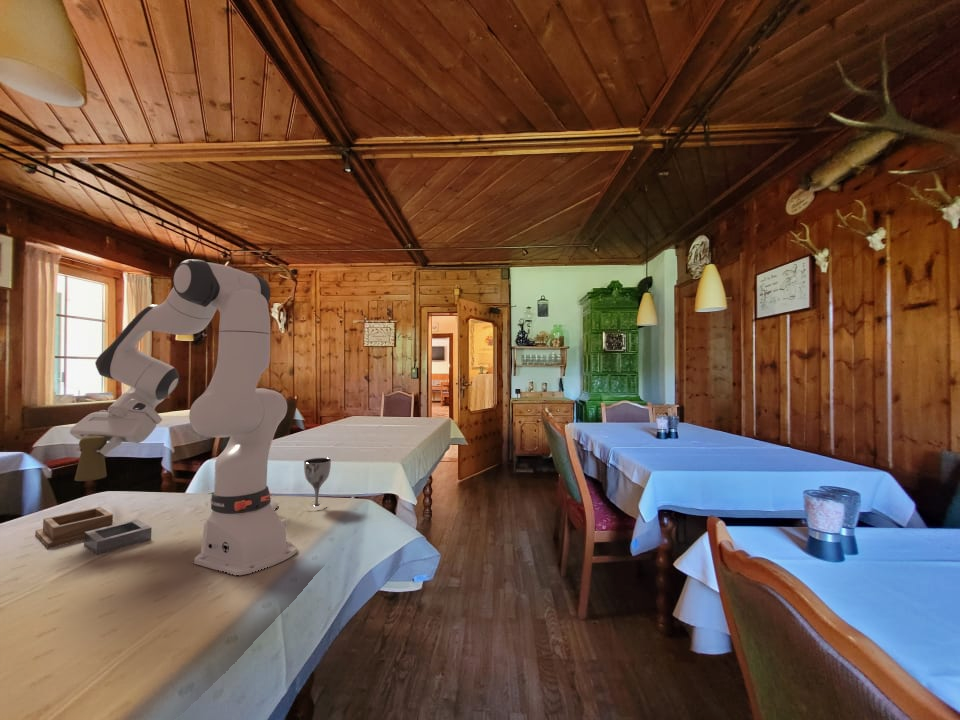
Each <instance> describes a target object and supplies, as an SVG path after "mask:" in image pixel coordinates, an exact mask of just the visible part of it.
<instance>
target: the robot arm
mask: <svg viewBox="0 0 960 720" xmlns="http://www.w3.org/2000/svg"><path fill="white" fill-rule="evenodd" d="M172 277H173V278H172V285H173V287H172V289H170V292H169V293H168V295H167V297H166V299H165V300H164V301H163V302H161V303H160V304H150V305H148V306H146V307H145V308H143V309H142V310H141V311H139V312H138V313H137V314H136V315H135V316H134V318H133V319H131V321H130V322H129V323H128V325H126V327H125V328H124V329H123V330H122V331H121V332H120V334H119V335H118V336H117V337H116V338H115V339H114V340H113V342H112V343H111V344H110V345H109V346H108V347H107V348H106V349H105V350H103V351H102V352H101V353H100V354H99V356H98V357H97V359H96V360H95V368H96V369H97V372H98V374H99V375H100V376H102V377H105V378H107V379H110V380H112V381H117V382H119V383H122V384H124V385H126V386H128V387H130V388H129V389H128V390H127V391H126V392H124V393H122V394H121V395H120V396H119V397H118V398H117V399H116V400H115V401H114V402H113V403H112V404H111V405H109V407H108V408H107V410H105V409H102V410H101V409H100V410H99V411H94V412H92V413H89V414H87V415H86V416H85V417H82V419H80V420H79V421H78V422H77V423H76V424H75V425H73V426H72V427H71V428H70V431H69V434H70V435H71V436H73V437H74V438H75V439H76V440H79V441H80V440H81V439H82V438H84V437H88V436H104V437H105V438H106V439H107V444H106V445H104V446H101V447H99V449H97V451H96V452H97V453H99V454H101V455H104V456H106V455H108V453H109V452H110V451H112V450H113V449H115V448H117V447H118V446H120V445H121V444H122V443H129V444H130V443H132V444H139V443H142V442H144V441H145V440H147V438H148V437H149V436H150V435H151V434H152V433H153V432H154V430H155V429H156V427H157V425H159V424H160V423H161V422H162V421H163V418H162V417H161V415H159V414H158V412H157V411H156V407H157V406H158V405H159V404H160V403H162V402H163V401H164V400H165V399H167V398H168V397H170V395H171V394H172V393H174V391H175V390H176V389H177V387H178V386H179V384H180V375H179V372H178V370H177V368H175V367H174V366H173V365H170V364H168V363H167V362H164V361H162V360H160V359H157V358H156V357H153V356H151V355H148V354H146V353H144V352H142V351H140V350H139V349H138V348H137V345H138V344H139V342H140V341H141V340H142V339H143V337H145V336H146V334H148V332H160V333H165V334H170V335H177V336H190V335H194V334H198V333H200V332H202V331H204V330H205V329H206V328H207V326H209V324H210V322H212V319H213V318H214V316H215V314H216V312H217V310H218V312H219V325H218V326H219V327H218V348H217V360H216V366H215V368H214V372H213V375H212V377H211V380H210V382H209V384H208V386H207V388H206V389H205V390H204V392H203V393H202V394H201V395H200V396H199V397H197V398H196V399H195V400H194V402H193V403H192V404H191V406H190V409H189V415H188V418H189V423H190V425H191V427H192V429H193V431H194V432H196V434H198V435H200V436H203V437H206V438H229V440H228V441H227V443H226V446H225V448H224V449H223V451H221V453H220V454H219V455H218V456H217V457H216V459H215V463H214V477H213V478H214V480H213V481H214V483H213V492H212V493H211V498H210V509H211V514H210V515H209V517H208V518H207V520H206V521H204V524H203V532H202V538H201V539H202V540H201V546H200V548H201V549H200V553H199V554H197V555H196V556H195V557H194V558H193V559H194V561H193V564H195V565H198V566H200V567H201V566H202V567H204V568H208V569H212V570H215V571H218V570H219V572H222V571H224V572H223V573H225V572H227V573H226V574H229V573H230V574H229V575H232V574H233V576H236V575H239V576H243V575H245V576H246V575H247V574H252V572H253V573H256V572H259V571H262V570H265V569H268V568H270V567H272V566H275V565H277V564H280V563H283V562H284V561H286V560H287V559H289V558H291V557H292V556H293V557H294V555H296V554H297V552H298V548H297V546H296V545H294V543H292V542H291V541H290V540H288V538H287V531H286V530H287V529H286V528H287V526H288V522H287V520H286V519H284V518H283V519H281V518H280V517H279V515H278V513H277V511H276V510H275V511H274V509H273V508H272V506H271V504H270V502H271V500H272V498H271V497H272V494H271V492H270V490H269V486H268V485H267V481H268V466H269V465H268V462H269V461H268V460H269V454H270V450H271V446H272V443H273V440H274V437H275V434H276V432H277V429H278V426H279V425H280V424H281V422H282V421H283V420H284V418H285V417H286V415H287V412H288V402H287V399H286V398H285V397H284V395H283V394H282V393H280V392H278V391H276V390H273V389H270V388H269V389H268V388H263V387H260V388H257V386H258V384H259V383H258V382H259V380H260V377H261V376H262V374H263V373H264V371H266V370H267V369H268V368H269V366H270V363H271V317H270V309H269V303H270V300H271V288H270V285H269V283H268V281H267V280H266V279H264V278H263V277H260V276H259V275H257V274H254V273H249V272H246V271H243V270H242V269H238V268H234V267H232V266H228V265H225V264H220V263H217V262H216V263H215V262H207V261H206V260H203V259H185V260H183V261H181V262H180V263H179V264H178V265H177V266H176V268H175V270H174V273H173V276H172ZM74 450H75V452H76V453H78V454H81V451H82V449H81V448H80V446H79V445H78V446H77V447H76V448H75V449H74ZM267 567H268V568H267ZM264 568H265V569H264ZM261 569H262V570H261ZM258 570H259V571H258ZM255 571H256V572H255Z"/></svg>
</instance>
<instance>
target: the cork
mask: <svg viewBox="0 0 960 720" xmlns="http://www.w3.org/2000/svg"><path fill="white" fill-rule="evenodd" d="M107 443H108V441H107V439H106V438H105V437H104V436H88V437H84V438H82V439H81V440H80V439H79V442H78V446H80V448H81V449H82V451H81V453H80V454H79V458H78V459H79V460H78V463H77V468H76V472H75V476H74V478H73V479H74V481H76V482H88V481H96V480H101V479H105V478H106V477H107V467H106V459H105V458H106V455H101V454H99V453H97V452H96V451H97V449H99V447H101V446H104V445H106V444H107Z"/></svg>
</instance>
